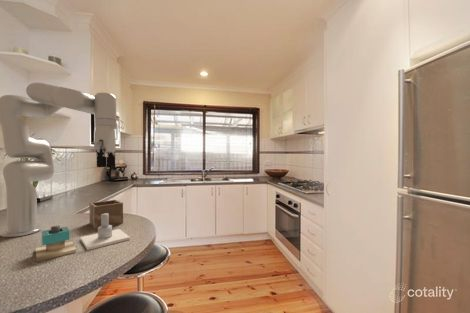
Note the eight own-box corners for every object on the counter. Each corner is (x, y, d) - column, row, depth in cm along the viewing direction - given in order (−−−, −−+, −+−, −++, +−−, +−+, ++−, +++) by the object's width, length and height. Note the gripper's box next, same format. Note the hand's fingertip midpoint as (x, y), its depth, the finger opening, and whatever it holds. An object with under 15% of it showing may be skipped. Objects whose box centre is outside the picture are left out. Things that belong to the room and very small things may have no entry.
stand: (35, 250, 76) (35, 226, 76) (71, 242, 83) (71, 220, 83) (36, 262, 67) (36, 234, 67) (76, 252, 74) (75, 227, 74)
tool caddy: (89, 223, 108) (89, 203, 108) (116, 218, 116) (116, 199, 116) (94, 228, 99) (94, 206, 99) (123, 222, 107) (122, 202, 107)
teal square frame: (41, 239, 75) (41, 231, 75) (67, 234, 80) (67, 226, 80) (42, 245, 70) (42, 236, 70) (69, 239, 75) (69, 230, 75)
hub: (80, 239, 86) (80, 214, 86) (119, 231, 95) (119, 208, 95) (87, 250, 75) (86, 221, 75) (129, 239, 85) (129, 213, 85)
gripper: (104, 127, 96) (104, 166, 95) (85, 120, 79) (86, 167, 78) (122, 127, 97) (123, 165, 97) (107, 120, 80) (108, 167, 80)
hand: (106, 166), depth 88 cm, fingers open, 9 cm apart
